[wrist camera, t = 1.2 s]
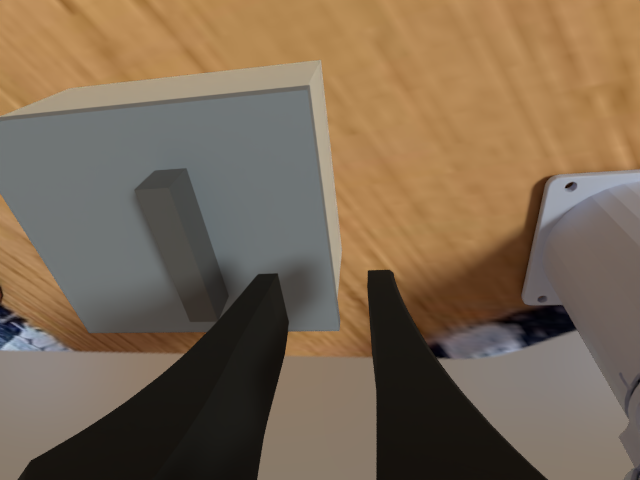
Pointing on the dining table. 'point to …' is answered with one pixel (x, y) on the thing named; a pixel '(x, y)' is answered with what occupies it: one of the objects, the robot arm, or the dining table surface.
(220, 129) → the lid
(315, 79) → the box
